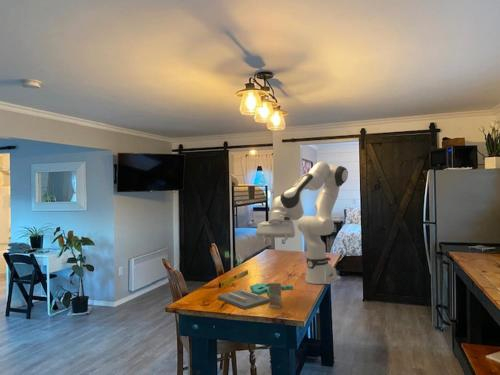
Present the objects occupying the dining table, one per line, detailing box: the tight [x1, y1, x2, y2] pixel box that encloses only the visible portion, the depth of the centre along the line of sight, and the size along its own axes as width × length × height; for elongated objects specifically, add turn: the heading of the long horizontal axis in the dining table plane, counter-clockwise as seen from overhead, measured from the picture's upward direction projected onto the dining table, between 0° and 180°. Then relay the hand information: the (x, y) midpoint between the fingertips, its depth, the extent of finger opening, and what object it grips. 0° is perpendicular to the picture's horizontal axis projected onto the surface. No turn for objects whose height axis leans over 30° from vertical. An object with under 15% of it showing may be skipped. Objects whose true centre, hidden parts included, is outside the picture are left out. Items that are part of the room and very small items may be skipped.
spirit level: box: [218, 269, 249, 288], centre depth 225 cm, size 33×1×3 cm, turn 152°
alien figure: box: [249, 282, 294, 297], centre depth 201 cm, size 20×2×20 cm
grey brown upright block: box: [268, 281, 283, 309], centre depth 175 cm, size 5×6×11 cm
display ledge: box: [217, 288, 269, 310], centre depth 186 cm, size 16×24×3 cm, turn 38°
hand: (274, 243), depth 184 cm, fingers open, 8 cm apart
